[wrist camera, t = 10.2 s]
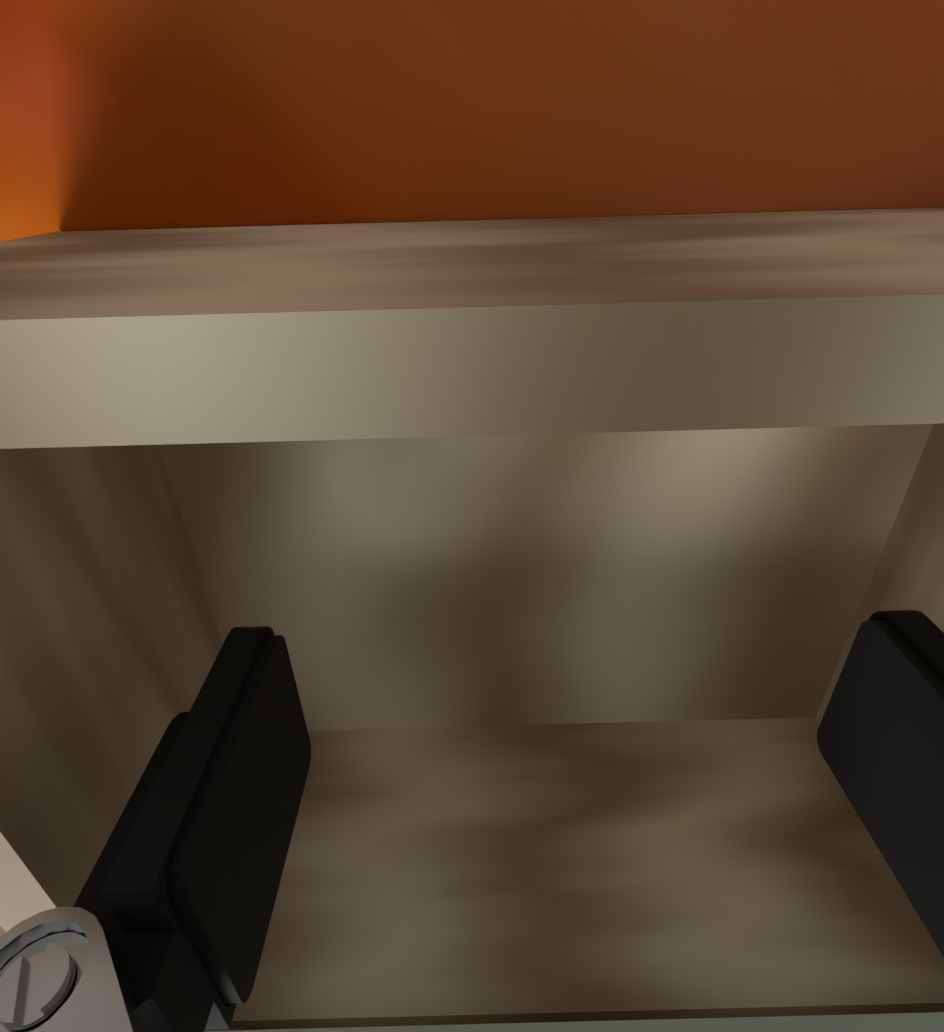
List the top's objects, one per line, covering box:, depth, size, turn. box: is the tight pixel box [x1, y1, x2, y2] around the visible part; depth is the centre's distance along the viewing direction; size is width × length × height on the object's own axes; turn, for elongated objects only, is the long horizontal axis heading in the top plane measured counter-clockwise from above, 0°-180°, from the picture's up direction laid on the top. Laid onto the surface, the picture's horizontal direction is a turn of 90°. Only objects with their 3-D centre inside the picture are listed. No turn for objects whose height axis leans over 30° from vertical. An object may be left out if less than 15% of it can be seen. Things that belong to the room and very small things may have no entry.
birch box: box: [0, 207, 944, 1031], centre depth 11 cm, size 17×13×7 cm
